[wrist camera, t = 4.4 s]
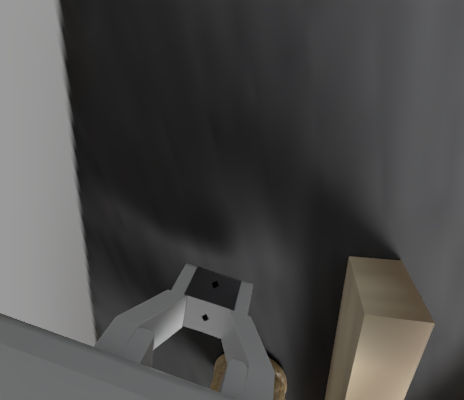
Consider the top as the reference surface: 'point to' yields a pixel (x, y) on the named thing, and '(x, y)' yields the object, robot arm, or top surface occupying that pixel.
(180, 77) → the top surface
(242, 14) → the top surface
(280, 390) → the sprinkles bottle
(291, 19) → the top surface
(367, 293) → the tong arm
